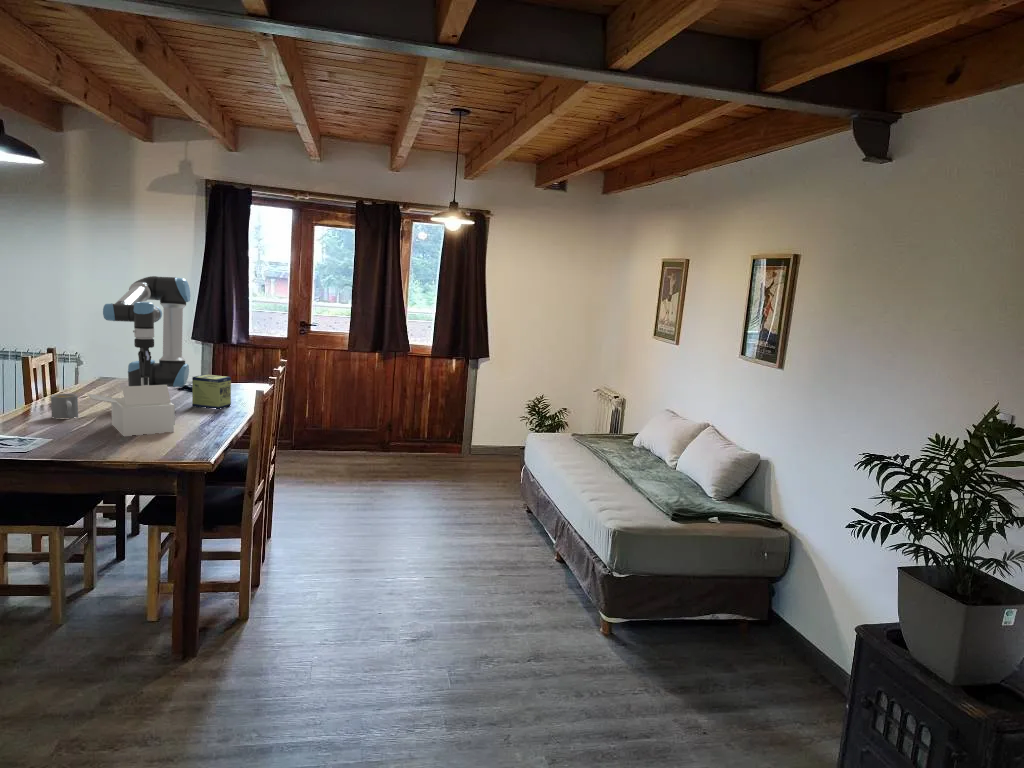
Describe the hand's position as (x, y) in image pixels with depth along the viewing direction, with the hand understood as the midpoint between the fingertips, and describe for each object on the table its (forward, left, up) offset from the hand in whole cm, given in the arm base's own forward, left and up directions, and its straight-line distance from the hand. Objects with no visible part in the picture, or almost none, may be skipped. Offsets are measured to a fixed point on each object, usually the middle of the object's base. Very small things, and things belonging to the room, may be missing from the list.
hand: (145, 391), depth 297 cm
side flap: (+1, -12, -3) cm, 12 cm away
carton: (+3, -2, -16) cm, 16 cm away
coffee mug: (-31, -26, -16) cm, 43 cm away
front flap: (+15, -2, -3) cm, 16 cm away
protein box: (-35, +38, -16) cm, 54 cm away
